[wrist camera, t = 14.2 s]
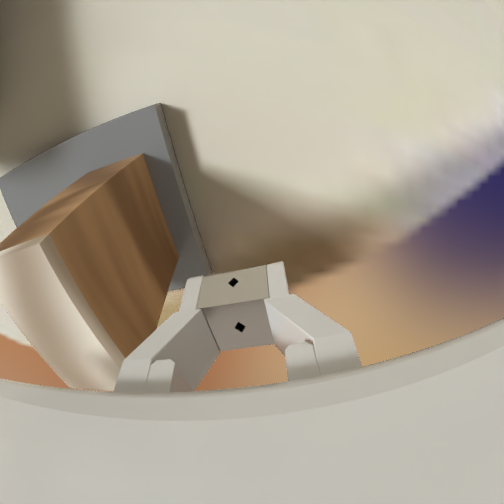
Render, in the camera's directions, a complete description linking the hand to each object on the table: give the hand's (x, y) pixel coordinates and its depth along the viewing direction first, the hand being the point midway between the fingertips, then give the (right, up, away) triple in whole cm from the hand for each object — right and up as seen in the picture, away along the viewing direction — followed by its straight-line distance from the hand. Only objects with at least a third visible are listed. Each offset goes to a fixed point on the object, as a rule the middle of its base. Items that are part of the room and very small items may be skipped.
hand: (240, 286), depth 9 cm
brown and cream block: (-7, +3, +8) cm, 11 cm away
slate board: (-10, +3, +9) cm, 14 cm away
